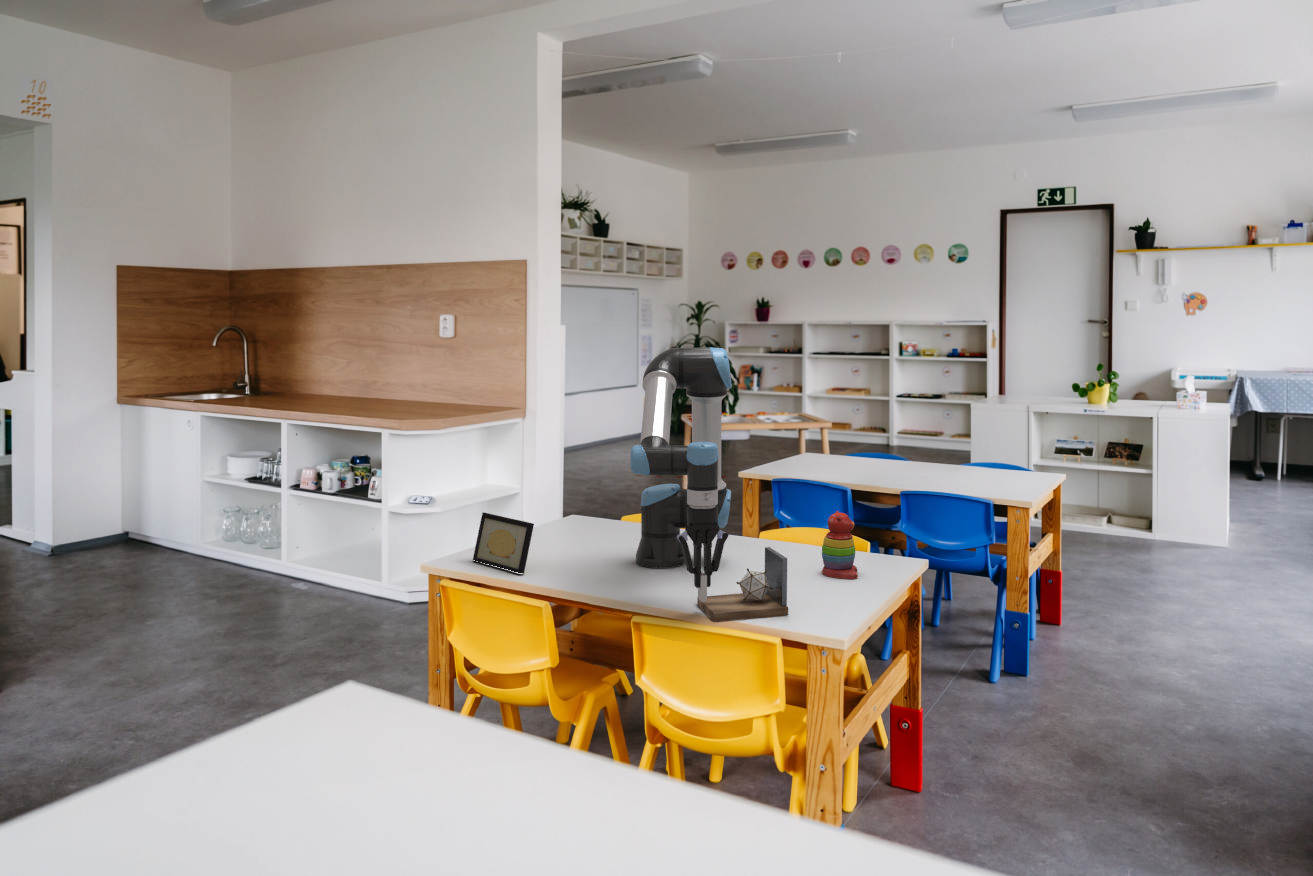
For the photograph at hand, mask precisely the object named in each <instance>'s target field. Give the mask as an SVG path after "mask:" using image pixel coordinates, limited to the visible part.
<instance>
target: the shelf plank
mask: <svg viewBox="0 0 1313 876" xmlns="http://www.w3.org/2000/svg"><path fill="white" fill-rule="evenodd" d="M744 598H745V597H744V595H743V592H742V593H731V594H717V595H707V601H704V602H701V601H700V600H699V599H698V596H697V599H696V601H697V602H696V603H697V606H698V607H699V608H700V609H701V610H702V611H703V612H704V613H705V614H706V615H707V616H708V617H709V618H710V619H711V620H712V621H713V623H717V622H727V621H739V620H748V619H749V620H750V619H759V618H770V617H771V618H772V617H784V616H789V606H788V605H787V606H781V605H780V604H778V603H777V602H776V601H775V600H773V599H772V598H771V597H769V596H768V595H767V594H766V595H765V597H764V598H763V599H762V601H763V604H762V603H761V601H759V600H751V599H745V601H743V599H744Z"/></svg>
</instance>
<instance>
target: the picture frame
mask: <svg viewBox="0 0 1313 876" xmlns="http://www.w3.org/2000/svg"><path fill="white" fill-rule="evenodd" d="M481 513H482V514H481V518H480V523H479V527H478V533H477V538H476V543H475V546H474V547H475V548H474V551H473V558H472V561H473V560H475V561H478V562H482V563H485V564H489V565H493V566H497V567H500V568H504V569H508V570H511V571H514V572H518V573H524V574H525V570H526V564H527V560H528V555H529V550H530V546H531V540H532V535H533V531H534V525H535V523H533V522H529V521H524V520H519V519H515V518H510V517H506V516H502V515H498V514H493V513H489V512H488V513H487V512H481Z"/></svg>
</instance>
